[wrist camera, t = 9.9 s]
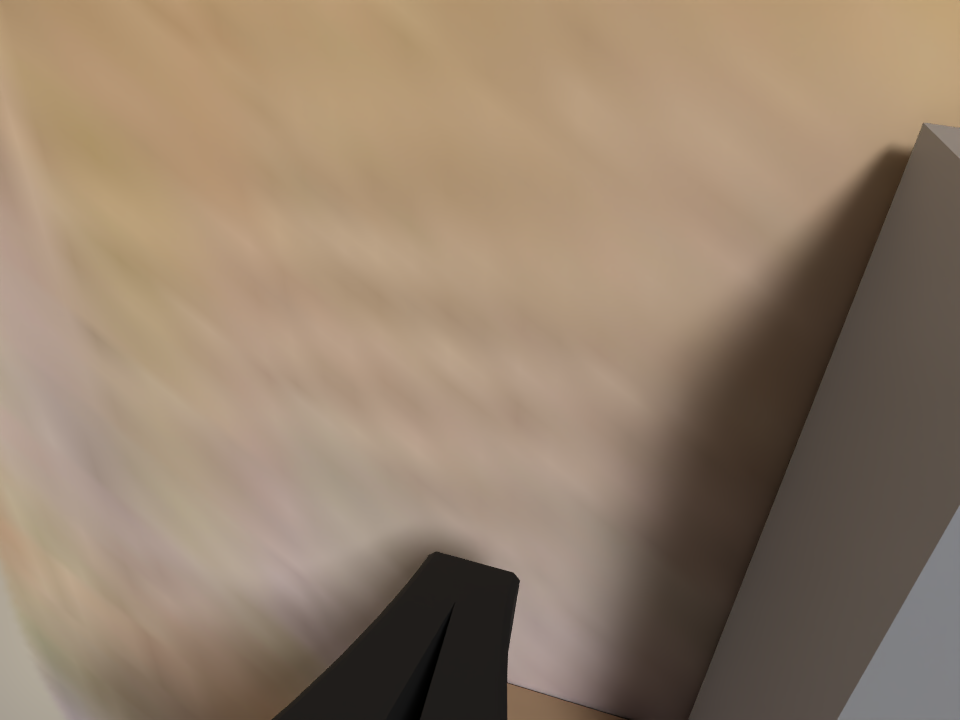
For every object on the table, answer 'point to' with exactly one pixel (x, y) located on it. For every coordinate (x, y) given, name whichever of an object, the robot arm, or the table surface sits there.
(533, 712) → the walnut block
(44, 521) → the table surface
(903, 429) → the tray
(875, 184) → the table surface
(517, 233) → the table surface
